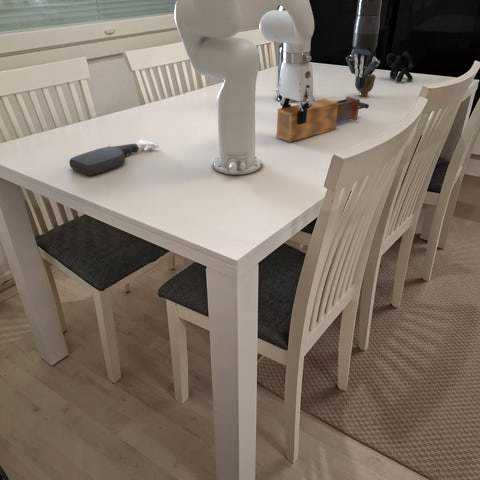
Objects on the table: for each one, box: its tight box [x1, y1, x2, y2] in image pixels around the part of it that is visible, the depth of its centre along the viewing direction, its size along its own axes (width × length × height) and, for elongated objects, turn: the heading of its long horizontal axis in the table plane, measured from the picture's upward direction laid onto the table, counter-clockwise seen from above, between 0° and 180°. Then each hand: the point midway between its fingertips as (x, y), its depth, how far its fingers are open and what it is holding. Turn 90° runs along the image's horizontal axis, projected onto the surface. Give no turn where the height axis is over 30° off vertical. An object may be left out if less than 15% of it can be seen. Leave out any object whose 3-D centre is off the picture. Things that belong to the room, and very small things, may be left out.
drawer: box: [334, 96, 370, 124], centre depth 147 cm, size 25×5×7 cm, turn 128°
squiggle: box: [385, 51, 414, 83], centre depth 198 cm, size 11×10×15 cm
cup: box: [356, 73, 377, 97], centre depth 176 cm, size 8×7×8 cm
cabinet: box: [276, 98, 338, 143], centre depth 139 cm, size 20×6×9 cm, turn 128°
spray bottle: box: [68, 139, 160, 177], centre depth 124 cm, size 3×11×24 cm
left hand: (293, 120), depth 135 cm, fingers closed on cabinet, 6 cm apart
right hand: (359, 88), depth 148 cm, fingers closed
